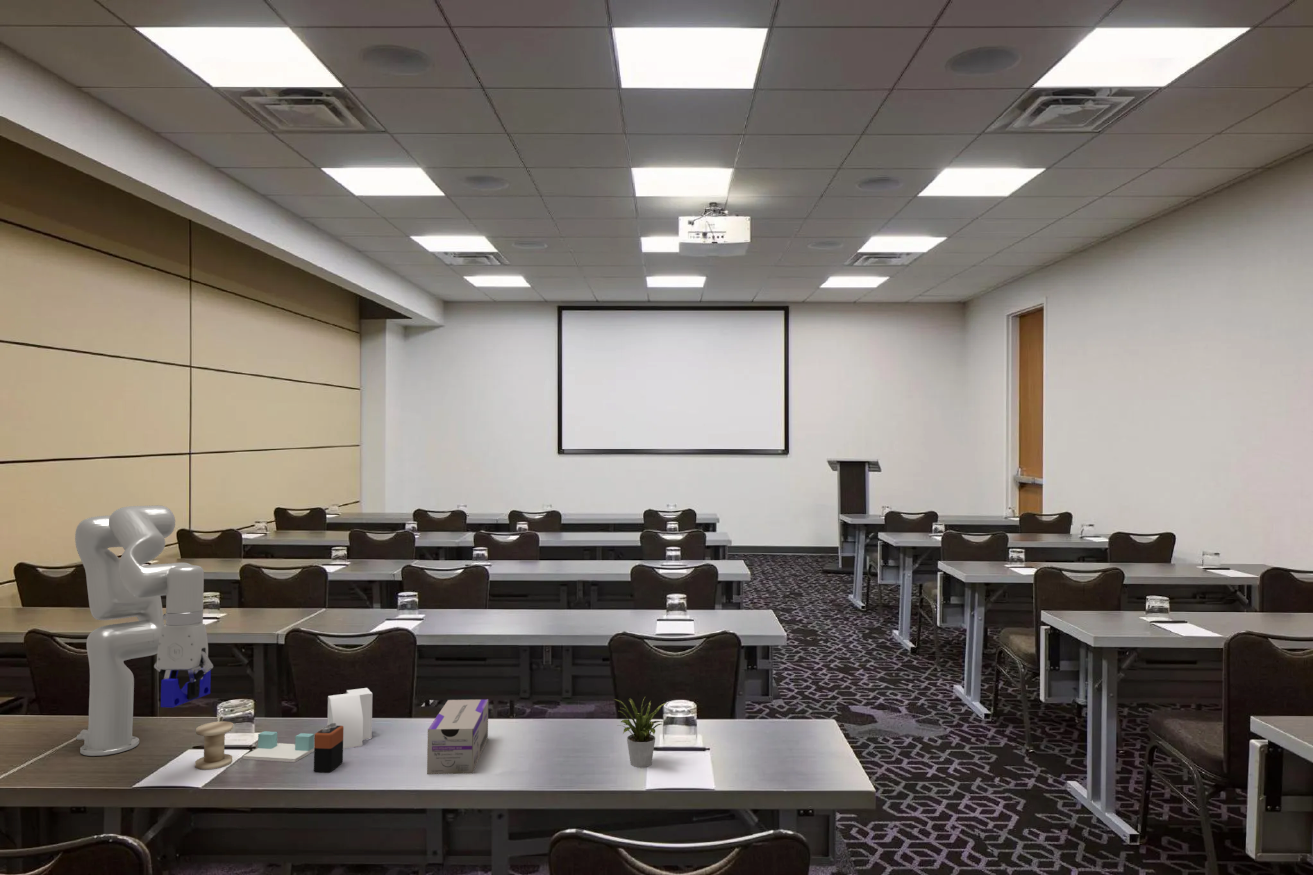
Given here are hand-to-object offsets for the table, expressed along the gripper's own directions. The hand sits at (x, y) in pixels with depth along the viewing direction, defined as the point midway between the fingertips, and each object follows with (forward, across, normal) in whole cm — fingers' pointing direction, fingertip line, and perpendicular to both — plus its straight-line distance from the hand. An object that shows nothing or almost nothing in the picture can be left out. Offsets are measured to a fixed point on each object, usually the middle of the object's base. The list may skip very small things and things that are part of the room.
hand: (182, 697), depth 188 cm
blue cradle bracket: (+1, 0, 0) cm, 1 cm away
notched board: (+19, +12, +20) cm, 30 cm away
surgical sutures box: (+20, +57, +26) cm, 66 cm away
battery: (+20, +29, +13) cm, 37 cm away
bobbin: (+19, 0, +11) cm, 22 cm away
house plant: (+20, +102, +27) cm, 108 cm away
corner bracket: (+19, +24, +32) cm, 44 cm away
